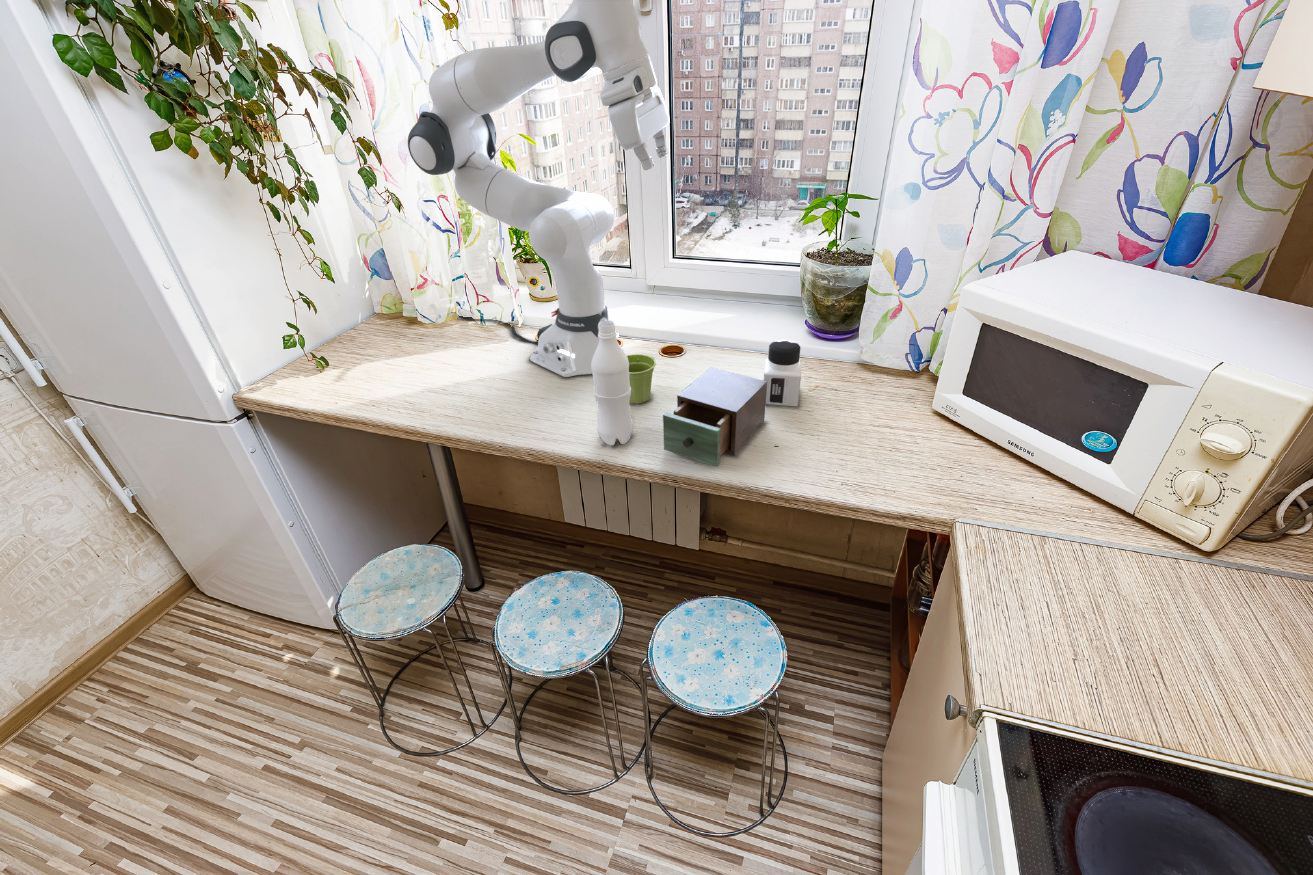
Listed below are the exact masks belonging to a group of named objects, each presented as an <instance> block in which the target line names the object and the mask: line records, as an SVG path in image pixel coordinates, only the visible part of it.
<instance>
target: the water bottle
mask: <svg viewBox="0 0 1313 875" xmlns="http://www.w3.org/2000/svg"><path fill="white" fill-rule="evenodd" d="M598 327H599V332H598V333H599V334H598V337H599V344H598V347H597V349H596V351H595V353H594V355H593V358H592V362H591V369H592V373H593V374H592V383H593V396H594V398H595V400H596V404H597V409H598V418H597V424H596V425H597V433H598V435H599V436H600V438H601V439H602V441H603V442H604V443H605V444H606V445H608V446H614V445H615V443H616V441H617V440H618V441H619V443H620V444H621V445H625V444H627V443H628V442H629V440H630V439H631V437H632V434H633V432H634V422H633V420H632V417H631V416H632V415H631V412H630V403H629V401H630V395H631V387H630V380H629V361H628V358H627V356H626V355H627V354H626V353H625V351H624V349H623V348H622V346H621V345H620V343H619V341H618V339H617V338H618V337H617V334H618V333H617V330H616V323H615V321H613V320H609V319H608V320H606V321H601V322H599V324H598Z"/></svg>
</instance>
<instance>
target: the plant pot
mask: <svg viewBox="0 0 1313 875" xmlns="http://www.w3.org/2000/svg"><path fill="white" fill-rule="evenodd" d="M626 356H627V358H628V361H629V380H630V387H631V395H630V401H629V404H632V405H633V404H635V403H636V404H637V403H638V404H642V403H646V402H648V401H649V400H650V398H651V391H652V382H653V381H652V380H653V372H654V369H655V367H656V365H657V362H656V361H657V360H655V358H653V357H652V356H650V355H647V354H640V353H635V354H633V353H631V354H626Z"/></svg>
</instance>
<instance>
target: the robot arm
mask: <svg viewBox="0 0 1313 875" xmlns="http://www.w3.org/2000/svg"><path fill="white" fill-rule="evenodd" d="M599 74H602V77H603V80H604V82H603V87H602V89H601V91H600V93H599V97H600V101H601V104H602V106H603V107H604V108H607V107H608V108H607V114H608V118H609V122H610V124H611V126H612V129H613V131H614V132H613V133H614V134H615V136H616V139H617V141H618V143H619V145H620V147H621V148H622V150H624V151H629V150H633V152H634V154H635V156H636V157H637V159H638V160H639V161H640V164H641V168H642V169H643V170H644V171H648V170H651V169H653V167H654V166H655V163H654V159H653V157H652V156H651V154H649V151H648V146H647V143H646V142H647V141H648V140H650V139H651V138H653V139H654V142H655V146H656V148H655V151H656V155H657V157H658V158H659V159H662V158H664V157H666V156H667V155H668V154H669V150H668V147H667V139H666V138H667V135H666V132H665V128H666V127H667V126H669V125H670V123H671V122H670V114H669V111H668V108H667V105H666V103H665V102H666V101H665V99H664V97H663V94H662V91H661V89H660V87H659V86H658V85H657V84H658V81H657V76H656V74H655V70H654V67H653V62H652V60H651V57H650V54H649V52H648V49H647V48H646V46H645V44H644V42H643V37H642V28H641V24H640V20H639V17H638V14H637V11H636V8H635V5H634V3H633V0H572V1H571V4H570V5H569V7H568V8H567V9H566V10H565V11H564V13H563V15H562V16H561V17H560V18H559V19H558V20H557V21H556V22H555V23H554V24H553V25H551V26H550V28H549V29H548V30H547V32H546V35H545V38H544V40H543V41H539V42H536V43H535V42H534V43H530V44H529V43H528V44H519V45H506V46H505V45H504V46H493V47H483V48H477V49H473V50H468V51H466V52H464V53H460V54H458V55H457V56H454V57H452V58H450V59H448V61H446V62H444V63H443V64H442V65H440V66H439V67H437V68H436V69H435V70H434V71H433V72H432V74H431V76H430V78H429V81H428V92H429V95H430V96H429V97H430V99H431V102H432V109H431V110H430V111H422V112H421V113H420V114H419V117H418V119H417V121H416V122H415V124H414V125H413V126H412V128H411V130H410V131H409V133H408V136H407V148H408V152H409V155H410V157H411V159H412V161H413V162H414V164H415V165H416V166H417V167H418V169H420V170H421V171H422V172H424V173H426V174H428V175H431V176H440V175H445V174H448V173H450V172H451V171H453V172H454V174H455V176H454V187H455V191H456V193H457V195H458V196H459V198H460V199H461V200H462V201H464V202H465V203H466V204H468V205H470V206H471V207H473V208H474V209H475V210H477V211H479V212H480V213H483V214H484V215H486V216H489V217H490V218H492V219H494V220H497V221H500V222H501V223H503V224H506V225H508V226H510V227H512V228H515V229H517V230H519V231H523V232H528V239H529V243H530V245H531V248H532V249H533V251H534V252H535V254H536V255H537V256H539V258H541V259H543V261H545V262H546V263H547V265H548V267H549V268H550V271H551V273H552V276H553V279H554V285H555V289H556V296H557V303H558V307H557V308H556V310H554V311H551V312H550V314H551V318H554V317H555V316H556V317H555V322H554V323H550V324H548V325H546V326H543V327H541V328H539V329H538V331H537V333H536V336H537V341H533V340H530V339H527V338H525V337H524V336H522V335H520V334H519V333H517V331H516V328H515V326H514V325H513V326H514V327H513V326H512V327H511V325H510V324H508V323H503V324H505V325H507V326H509V327H510V329H511V333H512V335H513V336H514V337H516V338H517V339H519V340H521V341H522V342H525V343H528V344H531V345H537V349H535V350H534V351H533V352H532V353H531V354H530V357H529V360H530V362H532V363H534V364H536V365H538V366H540V367H542V368H544V369H547V370H549V371H551V372H553V373H554V374H557V375H558V376H561V377H563V378H570V377H573V376H574V377H575V376H581V375H593V373H592V369H591V362H592V358H593V355H594V353H595V351H596V349H597V347H598V344H599V337H598V334H599V333H598V332H599V327H598V324H599V322H601V321H606V320H609V313H608V312H609V311H608V307H607V305H606V301H605V299H606V298H605V288H604V277H603V275H602V273H601V272H600V271H599V270H598V269H597V268H596V267H594V264H593V261H592V259H591V255H590V248H591V247H593V246H595V245H596V244H597V243H599V242H601V241H602V240H604V239H605V237H606V236H607V235H608V234H609V233H610V231H611V229H612V227H613V225H614V222H615V221H614V220H615V214H614V210H613V208H612V205H611V204H610V202H609V201H608V200H607V199H606V198H605V197H604V196H601V195H600V194H597V193H585V192H580V191H575V190H572V189H567V188H564V187H559V186H554V185H551V184H550V185H549V184H546V183H541V182H539V181H536V180H533V179H530V178H528V177H526V176H523V175H521V174H519V173H517V172H514V171H511V170H509V169H507V168H504V167H502V166H500V165H497V164H495V163H494V162H493V161H492V160H493V159H494V158H495V156H496V154H497V148H496V147H497V146H496V144H497V131H496V125H495V123H494V120H493V118H492V116H491V115H490V113H493V112H496V111H498V110H500V109H502V108H504V107H506V106H507V105H510V104H511V103H512V102H514V101H516V100H518V98H520V97H521V96H523V95H524V94H526V93H527V92H530V90H532V89H533V88H535V87H537V86H538V85H540V84H542V83H543V82H545V81H546V82H547V81H548V80H550V79H552V78H554V77H557V78H558V79H560V80H562V81H563V82H567V83H575V82H576V83H577V82H581V81H585V80H586V79H589V78H591V77H594V76H596V75H599ZM458 318H460V319H463V320H469V321H470V320H471V321H472V320H473V321H475V320H474V319H473V318H472V317H463V316H459V317H458ZM619 336H620V335H619V333H617V337H616V338H619Z"/></svg>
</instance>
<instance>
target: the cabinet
mask: <svg viewBox="0 0 1313 875" xmlns="http://www.w3.org/2000/svg"><path fill="white" fill-rule="evenodd" d="M766 392H767V381H764V379H759V378H755V377H751V376H747V375H743V374H739V373H735V372H732V371H727V370H723V369H719V368H714V367H710V368H709V369H706V371H705V372H704V373H702V374H701V375H700V376H699V377H697V379H695V380H693V382H692V383H690V384H689V385H688V386H687V387H686V388H684V389H683V390H682V391H681V392H679V393H678V394H677V395H676V397H677V398H676V399H677V400H676V403H677V404H676V405H677V406H676V407H677V408H678V407H679V406H680V405H681V404H682V403H684V402H688V403H692V404H695V405H699V406H702V407H706V408H709V409H713V410H716V411H720V412H723V413H727V414H730V415H732V432H731V446H730V447H729V448H728V449H727V450H726V451H725V452H724V454H727V455H731V456H736V455H737V454H738V453H739V451H740V450H741V449H742V448H743V447H744V446H745V445H746V444H747V443H748V442H749V440H750V439H751V438H752V437H753V436H754V435H755V434H756V433H757V431H758V430H759V429H760V428H761V427H762V426H763V425H764V424H765V415H766V405H767V404H766ZM677 408H676V409H677Z"/></svg>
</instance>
